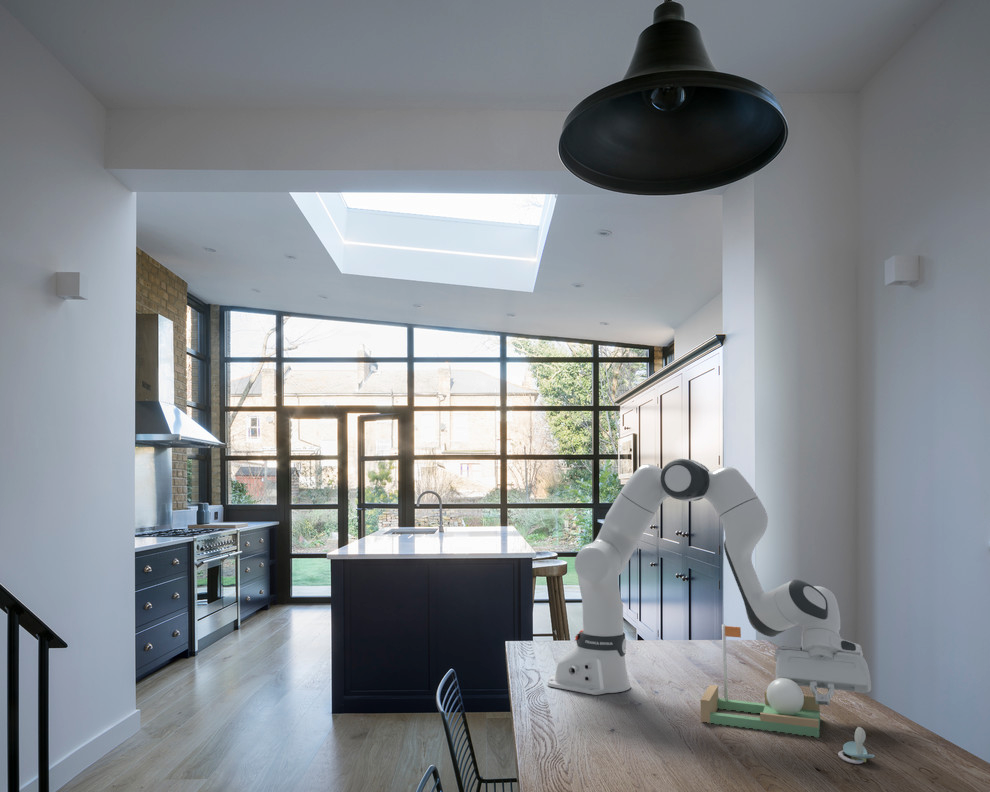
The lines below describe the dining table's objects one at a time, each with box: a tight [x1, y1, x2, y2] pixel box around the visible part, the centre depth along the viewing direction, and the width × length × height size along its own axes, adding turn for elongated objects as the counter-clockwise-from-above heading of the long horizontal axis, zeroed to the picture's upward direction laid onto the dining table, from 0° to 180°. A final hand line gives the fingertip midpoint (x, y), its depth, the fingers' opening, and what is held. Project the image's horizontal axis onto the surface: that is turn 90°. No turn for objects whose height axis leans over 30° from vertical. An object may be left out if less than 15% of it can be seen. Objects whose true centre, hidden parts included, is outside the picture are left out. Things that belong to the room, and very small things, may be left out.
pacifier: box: [837, 726, 876, 765], centre depth 147 cm, size 7×6×6 cm
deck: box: [700, 624, 821, 738], centre depth 172 cm, size 25×14×20 cm, turn 65°
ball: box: [766, 678, 805, 715], centre depth 169 cm, size 8×8×8 cm
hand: (822, 703), depth 165 cm, fingers closed
